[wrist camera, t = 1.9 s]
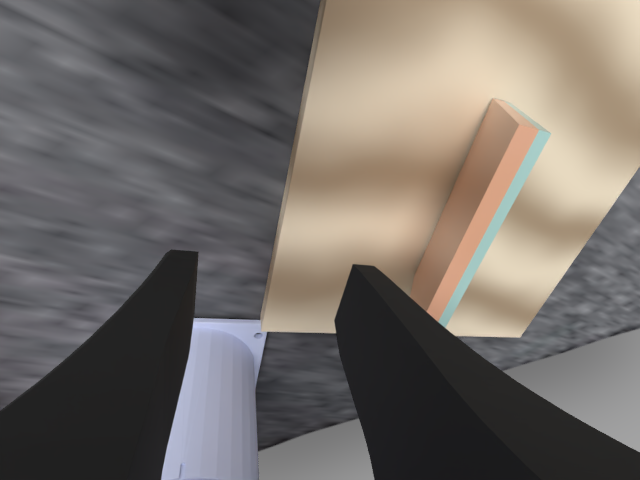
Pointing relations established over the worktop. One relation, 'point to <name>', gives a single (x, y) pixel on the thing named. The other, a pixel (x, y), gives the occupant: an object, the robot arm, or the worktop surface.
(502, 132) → the tile
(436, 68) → the board
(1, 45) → the worktop surface
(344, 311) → the robot arm
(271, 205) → the worktop surface
